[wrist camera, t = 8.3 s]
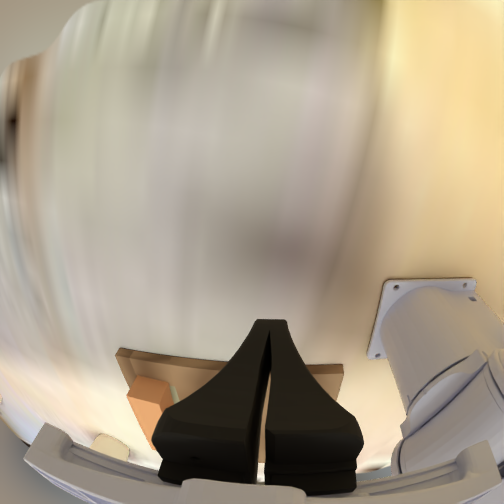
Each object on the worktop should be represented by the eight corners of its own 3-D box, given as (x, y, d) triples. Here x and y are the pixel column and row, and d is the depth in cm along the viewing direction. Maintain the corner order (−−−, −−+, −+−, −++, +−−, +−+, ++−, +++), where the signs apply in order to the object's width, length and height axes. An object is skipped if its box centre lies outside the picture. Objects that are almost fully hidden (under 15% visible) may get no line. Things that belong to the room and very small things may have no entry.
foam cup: (144, 451, 37) (122, 510, 25) (129, 459, 40) (109, 509, 28) (96, 423, 35) (66, 480, 24) (87, 435, 39) (62, 483, 27)
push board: (342, 364, 24) (344, 373, 23) (314, 456, 32) (314, 463, 30) (119, 347, 26) (115, 355, 25) (163, 442, 34) (161, 448, 33)
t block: (237, 393, 25) (233, 417, 22) (237, 446, 30) (234, 466, 27) (137, 375, 26) (126, 395, 23) (158, 432, 30) (152, 449, 28)
